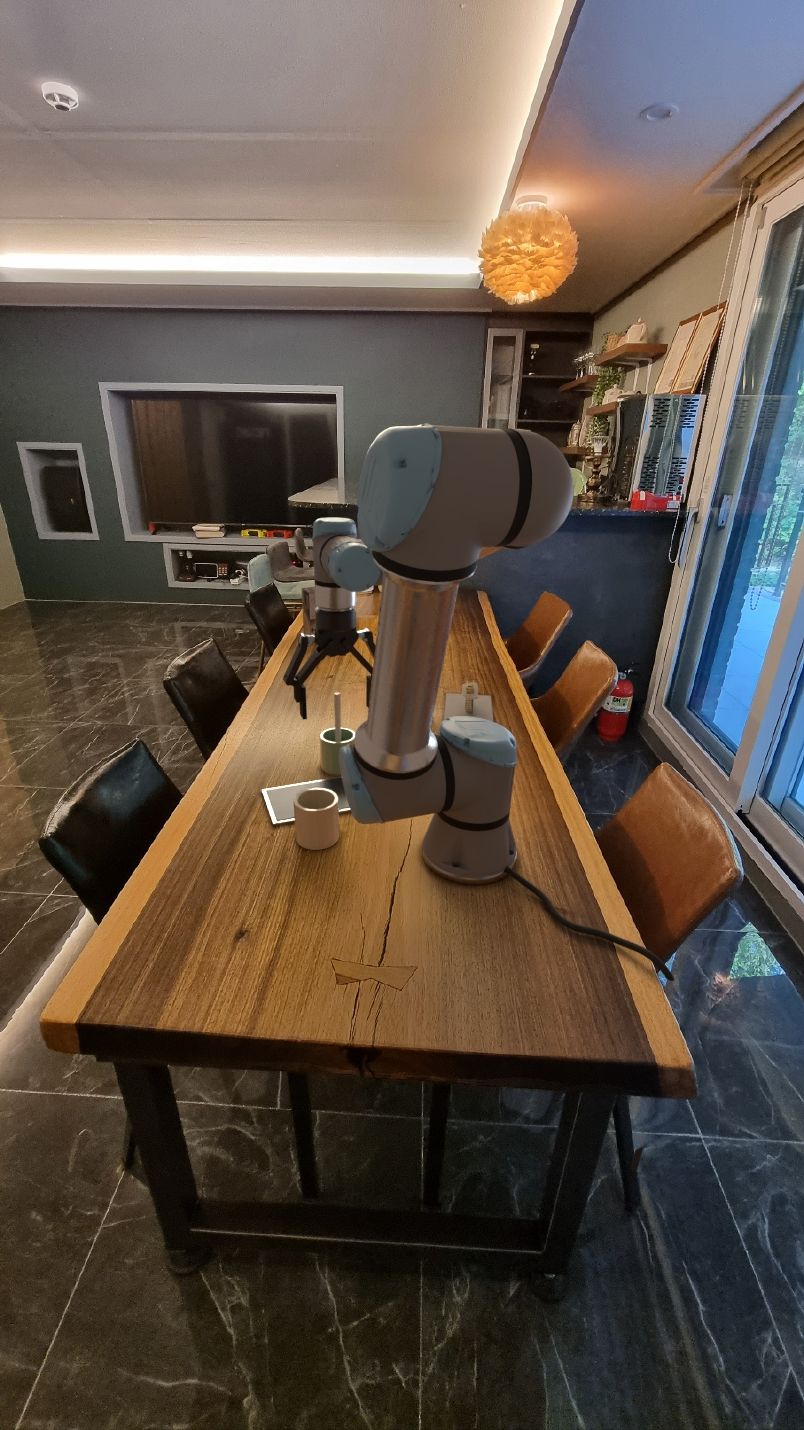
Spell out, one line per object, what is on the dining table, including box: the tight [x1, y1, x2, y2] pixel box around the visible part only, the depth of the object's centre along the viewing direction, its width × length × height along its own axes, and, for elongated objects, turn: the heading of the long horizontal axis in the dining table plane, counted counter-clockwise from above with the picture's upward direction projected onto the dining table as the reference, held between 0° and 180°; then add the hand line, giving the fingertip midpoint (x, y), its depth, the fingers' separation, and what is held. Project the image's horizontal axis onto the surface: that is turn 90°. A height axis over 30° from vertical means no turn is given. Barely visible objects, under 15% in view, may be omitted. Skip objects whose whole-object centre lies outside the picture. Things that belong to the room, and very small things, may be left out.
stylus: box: [333, 692, 342, 742], centre depth 122 cm, size 1×1×16 cm
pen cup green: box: [319, 727, 356, 776], centre depth 124 cm, size 7×7×8 cm
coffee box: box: [301, 586, 318, 635], centre depth 207 cm, size 9×6×16 cm
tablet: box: [261, 776, 351, 827], centre depth 113 cm, size 12×17×1 cm
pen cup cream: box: [294, 788, 340, 851], centre depth 102 cm, size 7×7×8 cm
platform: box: [443, 679, 494, 722], centre depth 155 cm, size 12×18×7 cm, turn 175°
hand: (337, 712), depth 121 cm, fingers open, 13 cm apart
